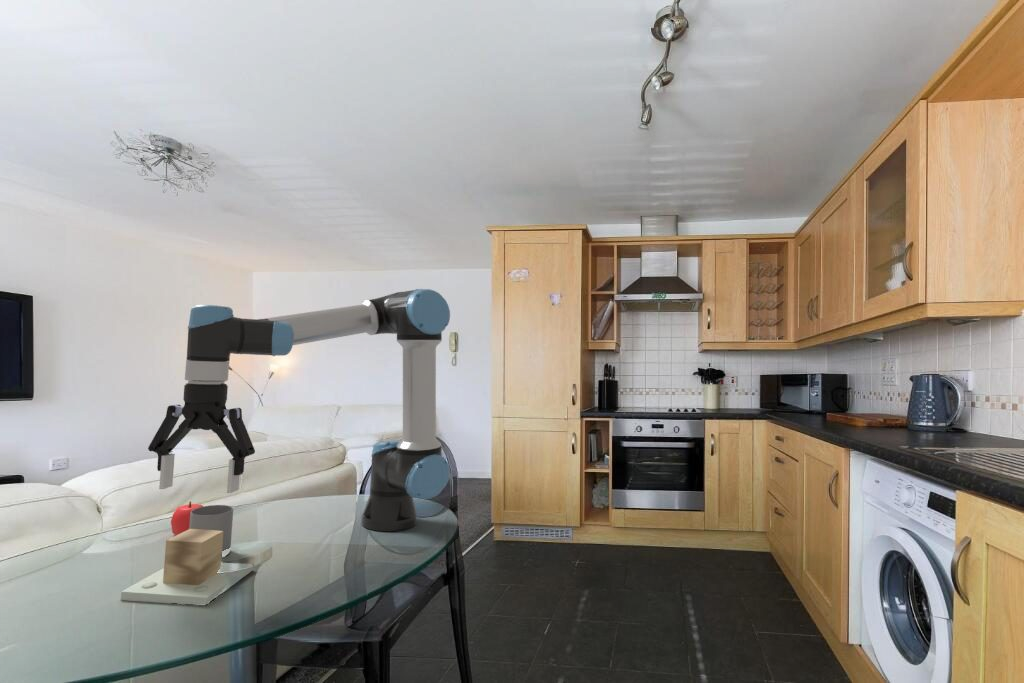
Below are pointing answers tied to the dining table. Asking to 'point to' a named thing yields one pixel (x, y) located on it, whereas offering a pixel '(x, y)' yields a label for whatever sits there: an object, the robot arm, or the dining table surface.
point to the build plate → (174, 590)
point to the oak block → (192, 556)
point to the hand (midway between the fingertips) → (199, 489)
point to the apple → (182, 518)
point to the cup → (214, 521)
